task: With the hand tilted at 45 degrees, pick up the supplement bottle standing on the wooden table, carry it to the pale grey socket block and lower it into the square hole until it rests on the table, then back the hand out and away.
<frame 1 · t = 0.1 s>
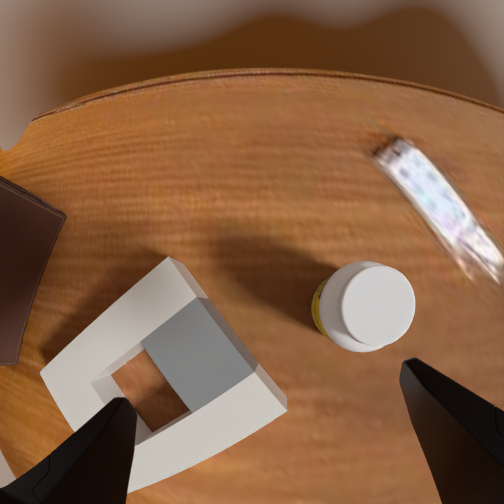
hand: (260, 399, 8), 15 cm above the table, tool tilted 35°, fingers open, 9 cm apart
supplement bottle: (342, 307, 23), on the table
letter holder: (18, 276, 27), on the table
socket block: (154, 388, 23), on the table
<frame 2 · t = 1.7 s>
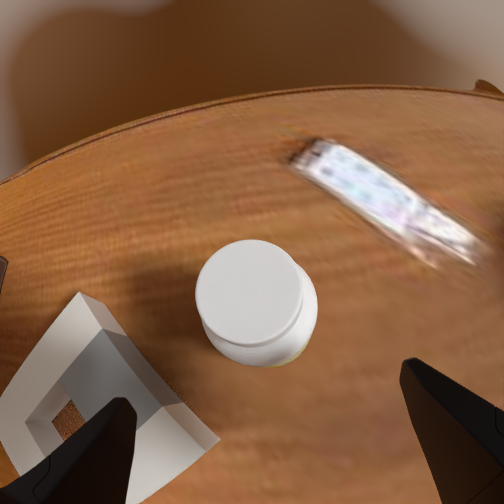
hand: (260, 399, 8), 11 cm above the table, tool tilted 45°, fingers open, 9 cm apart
supplement bottle: (270, 329, 20), on the table
socket block: (88, 434, 17), on the table
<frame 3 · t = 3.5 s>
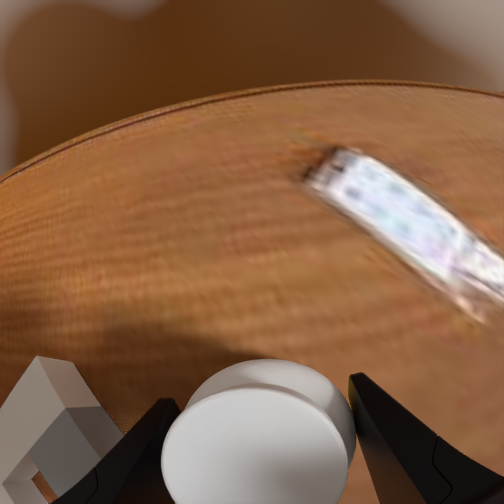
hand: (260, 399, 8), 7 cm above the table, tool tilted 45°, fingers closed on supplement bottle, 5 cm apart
supplement bottle: (278, 411, 14), on the table, touching gripper
socket block: (70, 499, 12), on the table
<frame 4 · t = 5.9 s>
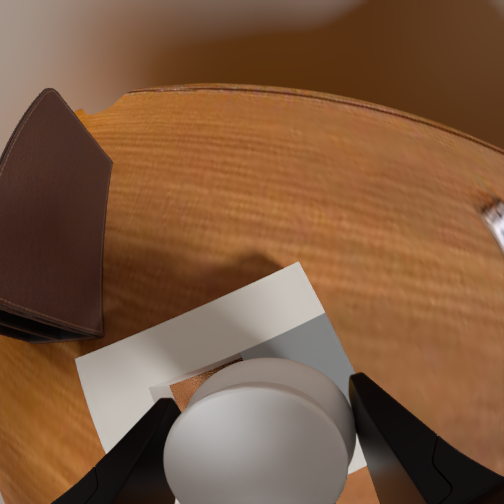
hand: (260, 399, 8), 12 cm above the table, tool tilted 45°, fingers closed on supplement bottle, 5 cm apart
supplement bottle: (279, 409, 14), point 5 cm above the table, touching gripper
letter holder: (71, 248, 27), on the table
socket block: (224, 411, 19), on the table
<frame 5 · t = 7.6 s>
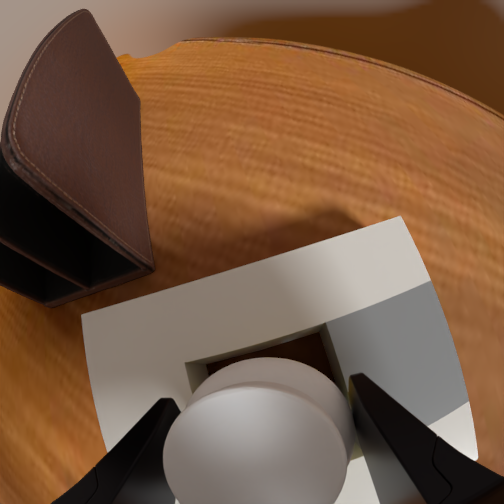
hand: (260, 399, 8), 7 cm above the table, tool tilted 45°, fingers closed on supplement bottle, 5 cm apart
supplement bottle: (278, 409, 14), resting in socket block, touching gripper
letter holder: (97, 188, 23), on the table
socket block: (278, 405, 14), on the table
when the fingers open (7 cm above the table, at t = 8.7 s): supplement bottle stays where it is, resting in socket block.
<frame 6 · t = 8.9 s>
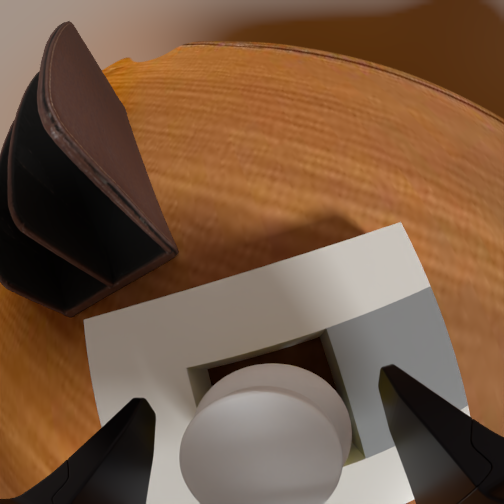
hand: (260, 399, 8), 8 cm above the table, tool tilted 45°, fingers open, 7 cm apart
supplement bottle: (280, 411, 14), resting in socket block
letter holder: (98, 193, 23), on the table
socket block: (279, 409, 14), on the table
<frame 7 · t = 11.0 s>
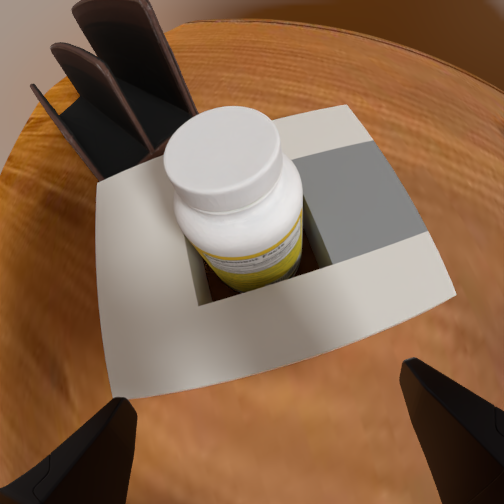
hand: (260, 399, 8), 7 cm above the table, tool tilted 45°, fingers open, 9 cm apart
supplement bottle: (257, 256, 18), resting in socket block
letter holder: (114, 124, 26), on the table
socket block: (255, 252, 18), on the table
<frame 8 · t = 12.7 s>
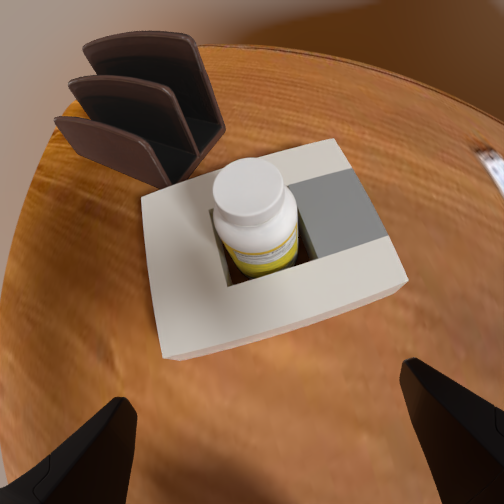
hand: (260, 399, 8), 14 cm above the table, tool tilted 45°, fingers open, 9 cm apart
supplement bottle: (265, 253, 25), resting in socket block
letter holder: (142, 143, 33), on the table
socket block: (264, 251, 25), on the table
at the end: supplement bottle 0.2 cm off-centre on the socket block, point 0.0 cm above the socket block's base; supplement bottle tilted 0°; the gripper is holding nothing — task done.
